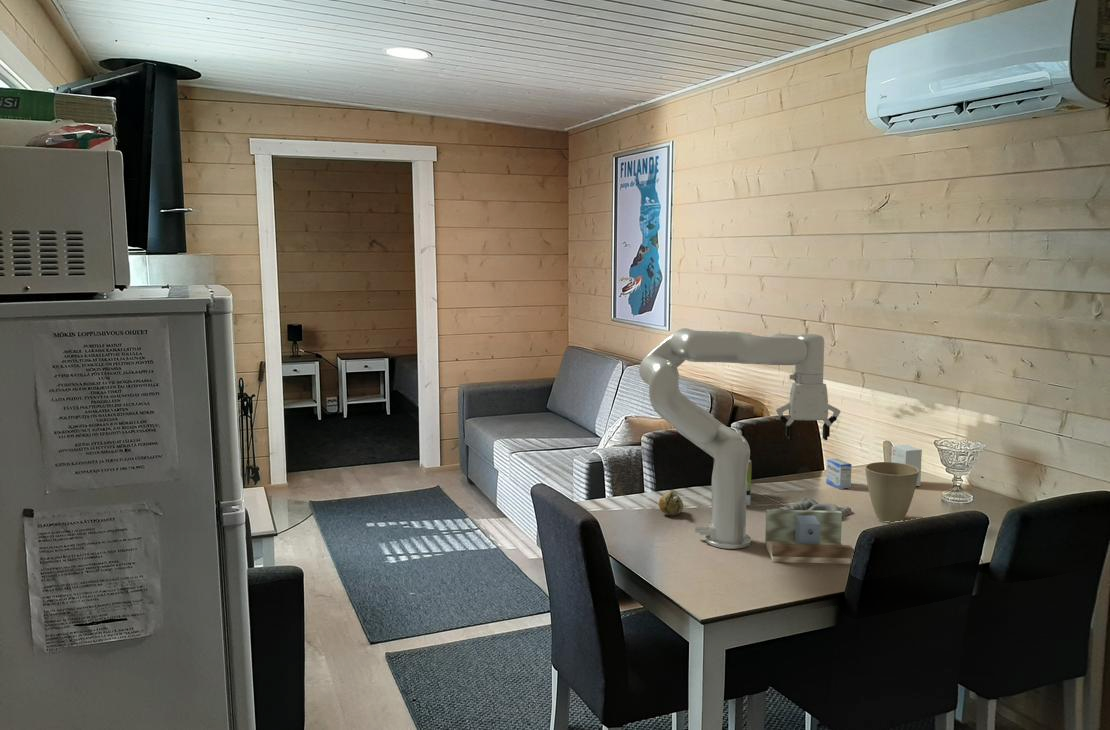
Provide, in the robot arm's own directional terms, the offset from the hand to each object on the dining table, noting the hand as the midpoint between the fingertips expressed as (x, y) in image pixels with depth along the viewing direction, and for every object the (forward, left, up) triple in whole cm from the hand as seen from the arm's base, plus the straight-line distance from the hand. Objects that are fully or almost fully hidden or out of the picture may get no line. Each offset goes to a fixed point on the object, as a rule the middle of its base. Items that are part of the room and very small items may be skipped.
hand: (807, 439), depth 231 cm
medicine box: (+21, +51, -29) cm, 62 cm away
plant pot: (+28, +16, -28) cm, 43 cm away
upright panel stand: (-2, -14, -28) cm, 32 cm away
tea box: (-17, +34, -29) cm, 48 cm away
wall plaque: (+6, +18, -29) cm, 35 cm away
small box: (+44, +54, -29) cm, 75 cm away
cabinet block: (-2, -14, -27) cm, 30 cm away
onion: (-37, +17, -29) cm, 50 cm away
